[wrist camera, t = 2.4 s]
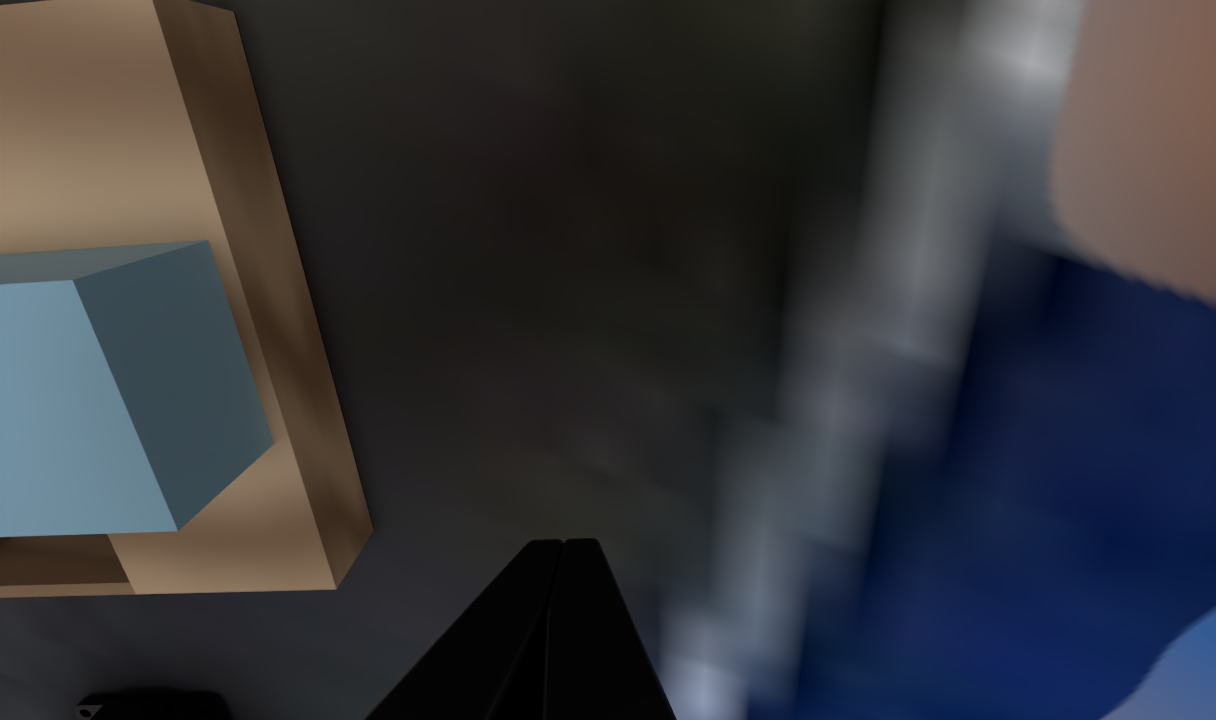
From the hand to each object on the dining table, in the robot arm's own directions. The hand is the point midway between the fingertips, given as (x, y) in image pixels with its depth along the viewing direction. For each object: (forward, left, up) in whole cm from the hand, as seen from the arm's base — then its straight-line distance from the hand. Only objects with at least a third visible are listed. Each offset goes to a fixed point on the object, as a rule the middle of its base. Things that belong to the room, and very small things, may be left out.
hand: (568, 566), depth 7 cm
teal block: (0, +13, -9) cm, 16 cm away
